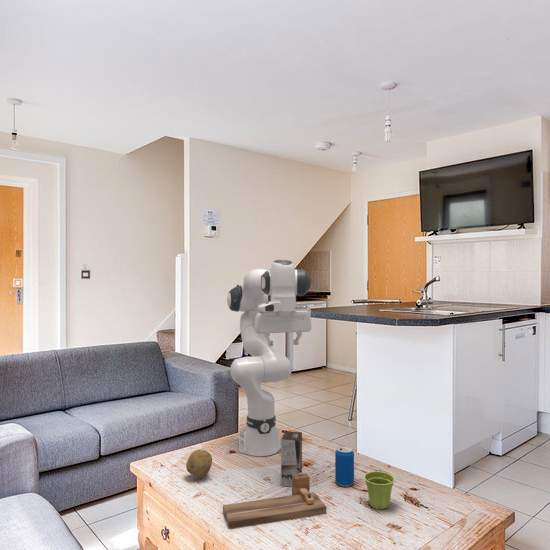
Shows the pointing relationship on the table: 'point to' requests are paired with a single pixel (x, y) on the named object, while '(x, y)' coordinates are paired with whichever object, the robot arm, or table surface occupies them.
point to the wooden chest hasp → (302, 487)
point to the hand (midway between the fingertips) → (283, 345)
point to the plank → (271, 510)
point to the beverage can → (344, 466)
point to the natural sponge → (199, 463)
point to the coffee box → (290, 456)
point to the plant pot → (379, 488)
